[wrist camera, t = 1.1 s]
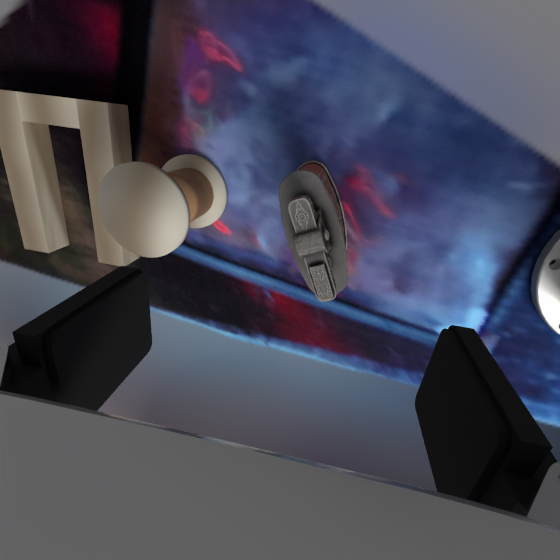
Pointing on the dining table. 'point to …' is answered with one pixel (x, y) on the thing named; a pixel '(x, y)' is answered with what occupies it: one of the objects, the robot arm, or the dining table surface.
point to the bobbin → (160, 202)
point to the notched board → (42, 171)
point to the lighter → (315, 228)
